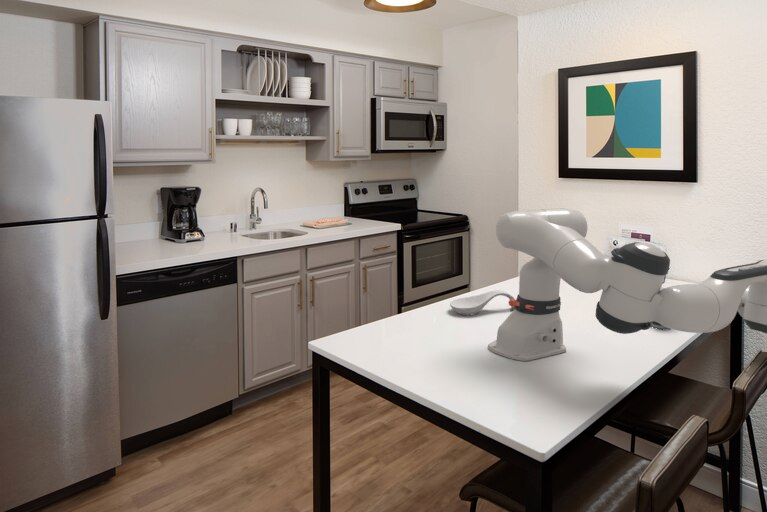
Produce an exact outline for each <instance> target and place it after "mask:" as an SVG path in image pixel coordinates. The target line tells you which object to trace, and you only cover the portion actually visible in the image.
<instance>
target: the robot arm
mask: <svg viewBox="0 0 767 512" xmlns="http://www.w3.org/2000/svg"><path fill="white" fill-rule="evenodd" d="M587 234H588V222H587V218H586V217H585V215H583V213H582V212H581V211H579V210H575V209H570V208H560V207H559V208H538V209H519V210H513V211H510V212H505V213H503V214H502V215H501V216H499V218H498V220H497V222H496V227H495V235H496V238H497V241H498V242H499V243H500V245H501V246H502V247H504V248H506V249H510V250H514V251H518V252H520V253H521V252H522V253H524V254H526V255H528V256H531V257H533V258H531V260H528V261H527V262H526V263H524V264H523V265H522V267H521V269H520V271H519V283H518V284H519V285H518V294H517V297H516V298H515V300H513V299H509V300H508V306H510V307H511V306H513V307H514V308H515V309H514V310H513V309H512V312H510V314H509V315H508V316H507V317H506V318H505V320H504V321H503V322H502V323H501V324H500V325H499V326H498V328H497V333H496V334H497V335H496V339H495V340H493V341H491V342H490V343H488V344H487V349H488V350H490V351H491V352H492V353H495V354H497V355H499V356H503V357H505V358H509V359H513V360H516V361H521V362H522V361H523V362H529V361H533V360H536V359H541V358H547V357H550V356H553V355H554V356H555V355H559V354H563V353H566V352H567V348H566V346H565V345H564V333H563V321H562V319H561V316H560V311H561V305H562V302H561V297H560V288H561V279H562V280H563V281H564V282H565V283H566V284H568V285H569V286H571V287H572V288H573V289H575V290H577V291H579V292H581V293H585V294H593V293H598V292H599V291H601V290H602V291H601V295H600V298H599V301H598V302H597V304H596V309H595V317H596V319H597V321H598V322H599V323H600V324H601V325H602V326H603V327H604V328H605V329H608V330H610V331H612V332H614V333H618V334H621V335H622V334H623V335H627V334H628V335H629V334H634V333H637V332H640V331H647V330H648V329H651V328H652V327H651V321H655V322H658V323H660V324H661V325H663V326H664V327H667V328H670V329H669V330H673V331H678V332H684V333H691V334H692V333H693V334H695V333H696V334H702V333H704V334H705V333H706V334H708V333H715V332H719V331H720V330H723V329H725V328H726V327H727V326H729V325H730V324H731V323H732V321H733V320H734V319H735V317H736V315H737V313H738V315H740V317H742V318H743V322H744V323H745V325H746V326H747V327H748V328H749V330H752V331H753V330H754V331H757V332H761V333H763V334H766V335H767V259H760V260H759V261H756V262H754V263H753V262H751V263H747V264H740V265H736V266H731V267H730V266H729V267H726V268H721V269H718V270H715V271H714V272H712V273H711V274H710V276H709V277H708V278H706V279H704V281H701V282H700V283H696V284H695V283H694V284H693V283H687V284H685V283H684V284H676V285H672V286H668V287H667V286H666V287H662V286H663V284H664V281H665V277H666V275H668V274H669V270H670V264H671V259H670V257H669V255H668V254H667V253H666V252H664V251H663V250H662V249H661V248H659V247H658V246H656V245H654V244H652V243H648V242H639V241H638V242H637V241H636V242H635V241H634V242H630V243H626V244H623V245H622V246H621V247H617V248H616V247H615V248H613V249H612V250H611V251H610V254H611V255H612V256H608V255H605V254H604V253H602V252H601V251H599V249H598V248H597V246H594V245H593V244H592V242H590V241H589V240H588V239H586V236H587Z"/></svg>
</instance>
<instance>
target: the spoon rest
mask: <svg viewBox="0 0 767 512" xmlns="http://www.w3.org/2000/svg"><path fill="white" fill-rule="evenodd" d="M498 296H504V297H506V298H508V299H509V300H510V299H513V300H516V298H515V297H514V296H513V295H511V294H510V293H508V292H507V291H504V290H500V289H499V290H496V289H495V290H491V291H487V292H484V293H480V294H477V295H472V296H467V297H462V298H457V299H453V300H452V301H450V305H449V306H450V307H451V308H452V310H453V311H454V312H456V313H457V314H460V315H463V314H464V315H465V316H472V315H471V314H475V315H477V314H478V313H479V312H480V311H482V310H483V308H485V306H487V304H489V302H490V301H492V300H493V299H494V298H495V297H498ZM510 307H511V309H512V311H513V310H514V309H515V308H514V307H513V306H510Z"/></svg>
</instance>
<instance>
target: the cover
mask: <svg viewBox="0 0 767 512" xmlns="http://www.w3.org/2000/svg"><path fill="white" fill-rule="evenodd" d="M652 327H653V328H652ZM650 328H652V329H655V328H657V329H656V330H660V329H669V330H671V329H670V328H667V327H664V326H663V325H661V324H660V323H658V322H655V321H651V327H650Z"/></svg>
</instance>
